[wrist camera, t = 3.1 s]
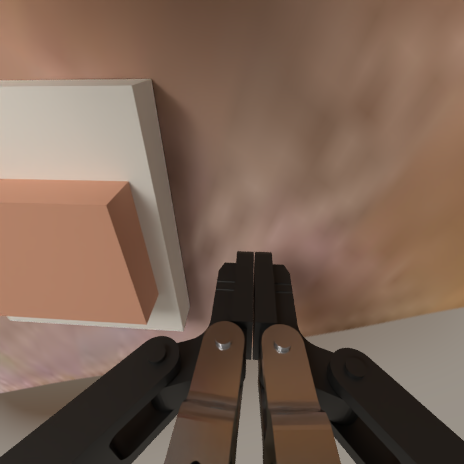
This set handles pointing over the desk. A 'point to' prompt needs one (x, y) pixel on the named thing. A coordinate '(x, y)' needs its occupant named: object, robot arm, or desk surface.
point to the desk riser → (100, 165)
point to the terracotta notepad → (73, 252)
